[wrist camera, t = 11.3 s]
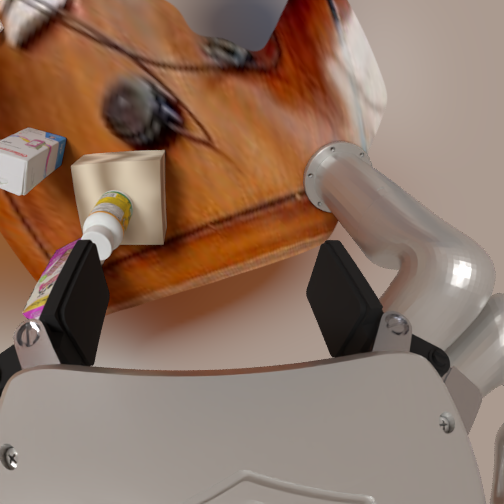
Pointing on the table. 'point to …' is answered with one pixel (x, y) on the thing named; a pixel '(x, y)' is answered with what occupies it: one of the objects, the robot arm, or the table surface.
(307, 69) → the table surface
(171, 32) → the table surface
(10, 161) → the ink box
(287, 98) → the table surface
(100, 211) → the supplement bottle
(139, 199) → the base block
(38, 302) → the candy bar box
